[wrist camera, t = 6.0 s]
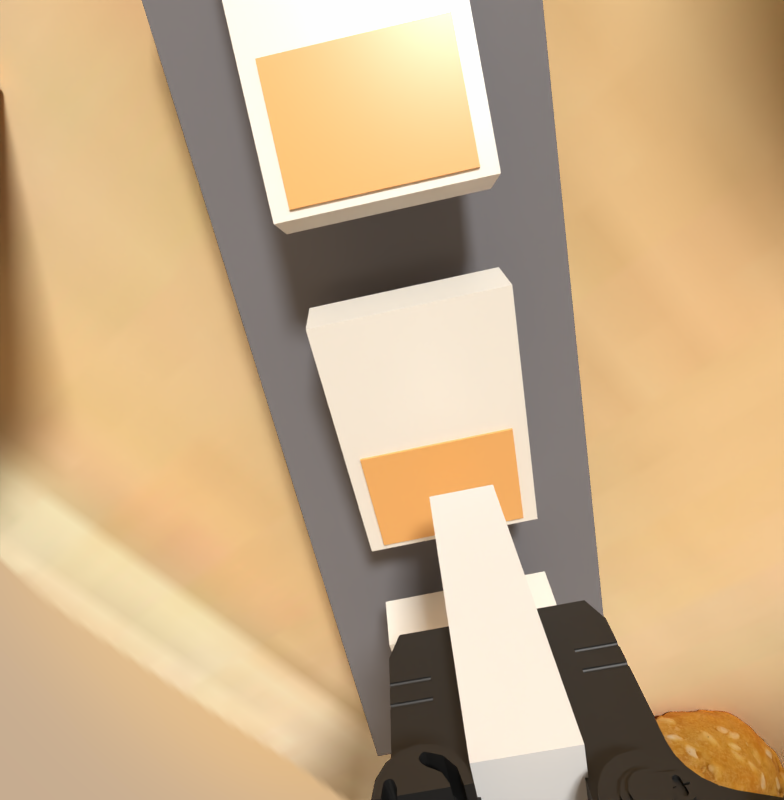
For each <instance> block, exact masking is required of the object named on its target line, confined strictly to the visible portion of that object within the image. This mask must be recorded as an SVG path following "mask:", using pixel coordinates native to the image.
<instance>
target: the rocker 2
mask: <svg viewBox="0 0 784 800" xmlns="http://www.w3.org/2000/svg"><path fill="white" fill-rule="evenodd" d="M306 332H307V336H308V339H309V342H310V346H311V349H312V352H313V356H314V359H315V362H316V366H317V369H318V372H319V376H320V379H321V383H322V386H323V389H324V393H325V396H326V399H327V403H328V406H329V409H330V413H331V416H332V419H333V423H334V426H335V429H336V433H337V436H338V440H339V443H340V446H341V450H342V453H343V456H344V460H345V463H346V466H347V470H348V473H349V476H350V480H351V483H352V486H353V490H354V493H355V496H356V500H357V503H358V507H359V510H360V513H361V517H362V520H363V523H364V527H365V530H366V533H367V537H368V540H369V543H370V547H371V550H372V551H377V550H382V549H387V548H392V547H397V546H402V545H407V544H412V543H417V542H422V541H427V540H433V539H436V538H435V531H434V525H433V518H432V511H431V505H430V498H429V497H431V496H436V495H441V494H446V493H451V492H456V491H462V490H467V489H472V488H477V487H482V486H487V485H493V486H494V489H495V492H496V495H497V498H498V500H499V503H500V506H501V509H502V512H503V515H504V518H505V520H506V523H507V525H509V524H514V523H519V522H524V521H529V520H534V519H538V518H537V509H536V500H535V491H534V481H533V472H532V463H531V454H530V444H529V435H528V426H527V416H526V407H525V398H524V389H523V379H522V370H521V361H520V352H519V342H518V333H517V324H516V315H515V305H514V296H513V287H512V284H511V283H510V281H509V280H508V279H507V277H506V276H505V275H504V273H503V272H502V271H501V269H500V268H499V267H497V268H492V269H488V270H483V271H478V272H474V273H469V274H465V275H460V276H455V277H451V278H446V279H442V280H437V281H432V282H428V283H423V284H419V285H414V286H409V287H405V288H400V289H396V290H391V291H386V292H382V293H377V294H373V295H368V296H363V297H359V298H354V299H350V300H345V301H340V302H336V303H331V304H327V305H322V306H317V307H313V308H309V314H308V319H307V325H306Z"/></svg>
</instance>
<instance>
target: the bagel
mask: <svg viewBox="0 0 784 800" xmlns="http://www.w3.org/2000/svg"><path fill="white" fill-rule="evenodd" d="M656 721H657V723H658V726H659V728H660V730H661V732H662V734H663V736H664V738H665V740H666V742H667V743H668V745H669V746H670V748H671V749H672V751H673V753H674V754H675V755H676V756H677V757H678V758H679V759H680V760H681V761H682V762H683V763H684V764H685V765H686V766H687V767H688V768H689V769H691V770H692V771H694V772H695V773H696V774H698V775H699V776H701V777H702V778H704V779H706V780H709V781H711V782H713V783H715V784H717V785H720V786H723V787H727V788H731V789H735V790H740V791H746V792H752V793H758V794H764V795H770V796H777V797H783V796H784V769H783V767H782V765H781V763H780V760H779V758H778V756H777V754H776V753H775V751H774V750H773V749H771V748H770V747H769V746H768V745H766V743H765V742H764V741H763V739H762V738H760V737H759V736H758V735H757V734H756V733H755V732H754V731H753V729H752V728H751V727H750V726H748V725H747V724H745V723H744V722H743V721H741V720H740V719H739V718H737V717H735V716H734V715H732V714H730V713H727V712H723V711H708V710H698V711H693V712H683V711H682V712H668V713H666V714H665V715H663V716H659V717H657V718H656Z"/></svg>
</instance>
